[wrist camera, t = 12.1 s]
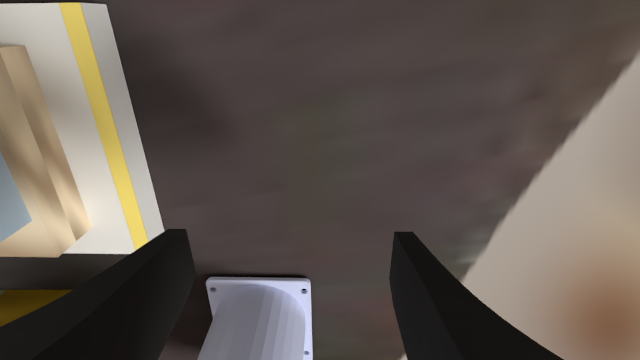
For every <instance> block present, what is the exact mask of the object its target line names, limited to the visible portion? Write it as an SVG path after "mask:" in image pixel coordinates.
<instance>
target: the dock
mask: <svg viewBox="0 0 640 360" xmlns="http://www.w3.org/2000/svg"><path fill="white" fill-rule="evenodd" d="M0 46H25V47H26V50H27V52H28V55H29V58H30V60H31V63H32V66H33V69H34V71H35V74H36V77H37V79H38V82H39V85H40V88H41V90H42V93H43V96H44V98H45V101H46V104H47V107H48V109H49V112H50V115H51V117H52V120H53V123H54V126H55V128H56V131H57V134H58V136H59V139H60V142H61V145H62V147H63V150H64V153H65V155H66V158H67V161H68V164H69V166H70V169H71V172H72V174H73V177H74V180H75V183H76V185H77V188H78V191H79V193H80V196H81V199H82V202H83V204H84V207H85V210H86V212H87V215H88V218H89V221H90V223H91V226H92V228H91V229H90V230H89V231H87V232H86V233H85V234H84V235H83V236H82V237H81V238H80V239H78V240H77V241H76V242H75V243H74V244H73V245H72V246H70V247H69V248H68V249H67V250H66V251H65V252H64V253H86V254H131V253H133V252H134V251H136V250H137V249H139V248H140V247H142V246H143V245H144V244H146V243H147V242H149V241H150V240H152V239H153V238H155V237H156V236H158V235H160V234H161V233H163V232H164V228H163V224H162V220H161V216H160V212H159V209H158V205H157V201H156V197H155V193H154V189H153V185H152V181H151V177H150V174H149V170H148V166H147V162H146V158H145V154H144V150H143V146H142V142H141V139H140V135H139V131H138V127H137V123H136V119H135V115H134V111H133V107H132V104H131V100H130V96H129V92H128V88H127V84H126V80H125V76H124V72H123V68H122V65H121V61H120V57H119V53H118V49H117V45H116V41H115V37H114V33H113V30H112V26H111V22H110V18H109V14H108V10H107V6H106V4H94V3H15V4H0Z"/></svg>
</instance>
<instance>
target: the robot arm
mask: <svg viewBox="0 0 640 360" xmlns="http://www.w3.org/2000/svg"><path fill="white" fill-rule="evenodd" d="M195 277H196V271H195V266H194V262H193V258H192V253H191V249H190V245H189V240H188V236H187V232H186V229H168V230H166V231H164V232H163V233H161V234H160V235H158V236H156V237H155V238H153V239H152V240H150V241H149V242H147V243H146V244H144V245H143V246H142V247H140V248H139V249H137V250H136V251H134V252H133V253H131V254H130V255H128V256H127V257H125V258H124V259H122V260H121V261H119V262H118V263H116V264H115V265H113V266H112V267H110V268H108V269H107V270H105V271H104V272H102V273H100V274H99V275H97V276H95V277H94V278H92V279H91V280H89V281H87V282H86V283H84V284H83V285H81V286H79V287H77V288H76V289H74V290H72V291H70V292H69V293H67V294H65V295H63V296H61V297H60V298H58V299H56V300H54V301H52V302H50V303H48V304H46V305H45V306H43V307H41V308H39V309H37V310H35V311H32V312H30V313H28V314H26V315H24V316H22V317H20V318H18V319H15V320H13V321H11V322H9V323H7V324H5V325H3V326H1V327H0V360H158V358H159V356H160V354H161V352H162V350H163V348H164V346H165V344H166V342H167V340H168V338H169V336H170V334H171V332H172V330H173V328H174V326H175V324H176V323H177V321H178V319H179V317H180V315H181V313H182V311H183V309H184V306H185V304H186V302H187V300H188V297H189V295H190V292H191V289H192V286H193V283H194V280H195ZM389 278H390V286H391V293H392V300H393V306H394V310H395V314H396V318H397V322H398V325H399V329H400V333H401V337H402V340H403V344H404V348H405V352H406V355H407V359H408V360H563V359H562V358H560V357H559V356H557V355H555V354H554V353H552V352H551V351H549V350H547V349H546V348H544V347H542V346H541V345H540V344H538V343H537V342H535V341H534V340H532V339H531V338H529V337H528V336H526V335H525V334H523V333H522V332H521V331H519V330H518V329H516V328H515V327H513V326H512V325H511V324H509V323H508V322H507V321H505V320H504V319H502V318H501V317H500V316H498V314H496V313H495V312H494V311H492V310H491V309H490V308H489V307H487V306H486V305H485V304H484V303H482V302H481V301H480V300H479V299H478V298H477V297H475V296H474V295H473V294H472V293H471V292H470V291H469V290H468V289H466V288H465V287H464V286H463V285H462V284H461V283H460V282H459V281H458V280H457V279H456V278H455V277H454V276H453V275H452V274H451V273H450V272H449V271H448V270H447V269H446V268H445V267H444V266H443V265H442V264H441V263H440V262H439V261H438V260H437V258H436V257H435V256H434V255H433V254H432V253H431V252H430V251H429V250H428V248H427V247H426V246H425V245H424V244H423V243H422V242H421V241H420V239H419V238H418V237H417V236H416V235H415V234H414V233H413V232H394V241H393V250H392V259H391V268H390V277H389ZM212 287H213V288H215V289H213V288H212ZM206 288H207V292H208V297H209V302H210V307H211V312H212V316H213V320H212V323H211V326H210V328H209V331H208V333H207V336H206V338H205V341H204V343H203V346H202V349H201V351H200V354H199V356H198V359H197V360H313V351H312V316H311V283H310V281H309V280H308V279H306V278H263V277H210V278H208V279H207V281H206ZM302 289H306V290H302Z"/></svg>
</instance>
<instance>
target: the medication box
mask: <svg viewBox="0 0 640 360" xmlns="http://www.w3.org/2000/svg"><path fill="white" fill-rule="evenodd" d="M70 291H72V290H0V327H1V326H3V325H5V324H7V323H9V322H11V321H13V320H15V319H18V318H20V317H22V316H24V315H26V314H28V313H30V312H32V311H35V310H37V309H39V308H41V307H43V306H45V305H46V304H48V303H50V302H52V301H54V300H56V299H58V298H60V297H61V296H63V295H65V294H67V293H69V292H70Z"/></svg>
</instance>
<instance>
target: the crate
mask: <svg viewBox="0 0 640 360" xmlns="http://www.w3.org/2000/svg"><path fill="white" fill-rule="evenodd" d="M31 221H32V219H31V216H30V214H29V212H28V210H27V208H26V205H25V203H24V201H23V199H22V197H21V195H20V192H19V190H18V188H17V186H16V184H15V182H14V179H13V177H12V175H11V173H10V171H9V168H8V166H7V164H6V162H5V160H4V158H3V155H2V153H1V151H0V242H2V241H3V240H5V239H6V238H8V237H9V236H11V235H12V234H14V233H15V232H17V231H18V230H20V229H21V228H22V227H24V226H25V225H27V224H28V223H30V222H31Z"/></svg>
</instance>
